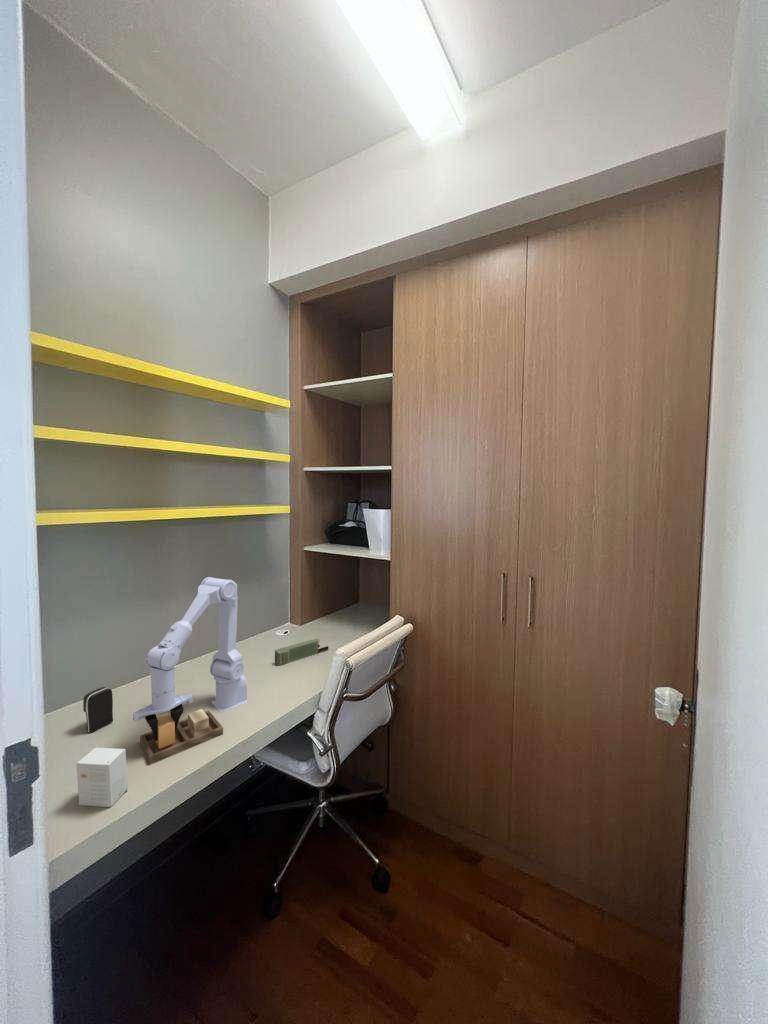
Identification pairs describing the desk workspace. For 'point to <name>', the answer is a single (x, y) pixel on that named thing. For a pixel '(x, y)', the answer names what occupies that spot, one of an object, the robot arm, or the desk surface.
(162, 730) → the plug block
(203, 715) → the maple block
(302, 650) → the handheld radio
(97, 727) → the battery charger
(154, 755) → the slot rack
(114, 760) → the small box
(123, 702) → the desk surface
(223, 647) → the robot arm
